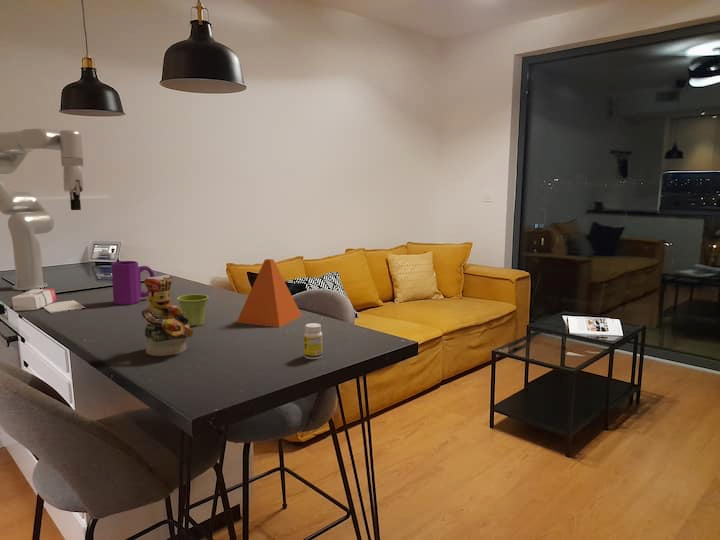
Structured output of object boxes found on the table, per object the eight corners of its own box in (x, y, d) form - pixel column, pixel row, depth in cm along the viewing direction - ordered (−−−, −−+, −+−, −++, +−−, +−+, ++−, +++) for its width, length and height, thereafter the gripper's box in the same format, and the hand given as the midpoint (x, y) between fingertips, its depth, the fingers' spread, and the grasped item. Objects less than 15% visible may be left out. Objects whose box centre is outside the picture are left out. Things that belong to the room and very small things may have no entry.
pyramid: (236, 322, 169) (234, 261, 166) (261, 312, 184) (260, 255, 181) (279, 327, 164) (278, 264, 161) (302, 316, 178) (301, 257, 175)
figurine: (144, 362, 130) (139, 282, 127) (142, 345, 144) (138, 273, 141) (195, 356, 135) (192, 279, 132) (189, 340, 149) (186, 270, 146)
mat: (40, 305, 189) (39, 304, 189) (73, 301, 197) (73, 300, 197) (50, 313, 178) (50, 312, 178) (85, 308, 186) (85, 307, 186)
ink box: (54, 287, 192) (34, 296, 181) (57, 300, 193) (37, 310, 182) (31, 288, 192) (9, 298, 181) (34, 301, 194) (12, 312, 182)
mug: (109, 302, 196) (107, 262, 194) (151, 296, 206) (149, 258, 204) (118, 306, 189) (115, 265, 187) (161, 300, 200) (159, 261, 197)
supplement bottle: (304, 353, 138) (304, 322, 137) (322, 353, 138) (322, 322, 137) (303, 359, 133) (303, 327, 132) (322, 359, 134) (322, 327, 132)
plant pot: (215, 322, 169) (214, 295, 168) (197, 329, 160) (196, 301, 159) (190, 319, 172) (189, 293, 171) (171, 326, 163) (170, 299, 162)
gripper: (56, 163, 209) (60, 209, 212) (67, 162, 198) (70, 211, 201) (77, 163, 214) (80, 209, 217) (88, 162, 203) (91, 210, 206)
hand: (75, 209), depth 209 cm, fingers closed
